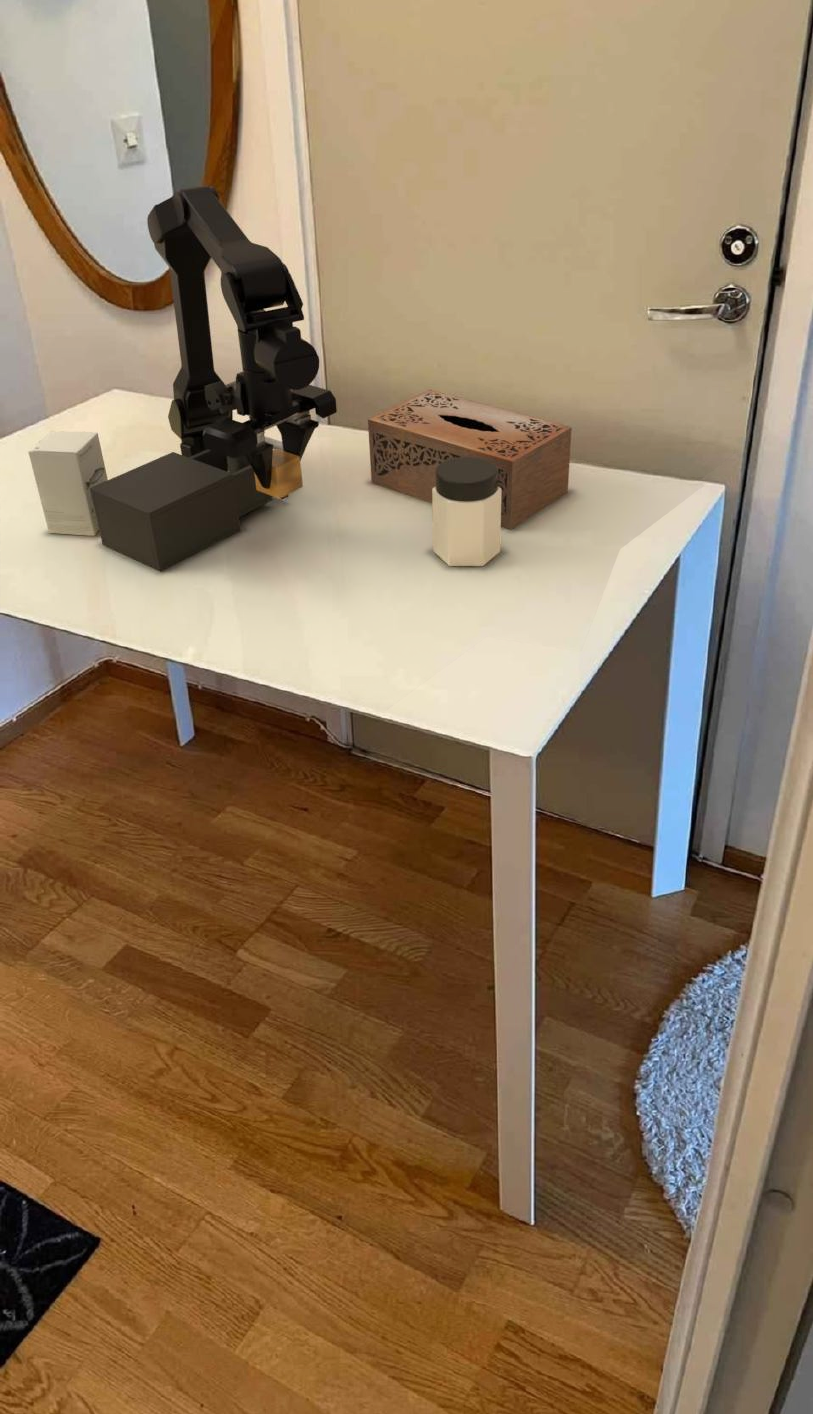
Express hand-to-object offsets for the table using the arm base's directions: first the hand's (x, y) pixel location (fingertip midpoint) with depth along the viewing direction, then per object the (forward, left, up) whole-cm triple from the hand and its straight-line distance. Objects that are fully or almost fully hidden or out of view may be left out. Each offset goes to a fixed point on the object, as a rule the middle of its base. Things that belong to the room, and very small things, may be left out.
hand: (278, 481), depth 142 cm
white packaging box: (+13, -28, -10) cm, 33 cm away
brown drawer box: (+8, -14, -9) cm, 19 cm away
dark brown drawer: (-5, -14, -9) cm, 18 cm away
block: (0, 0, -1) cm, 1 cm away
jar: (-13, +22, -10) cm, 27 cm away
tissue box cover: (-29, +10, -10) cm, 32 cm away
